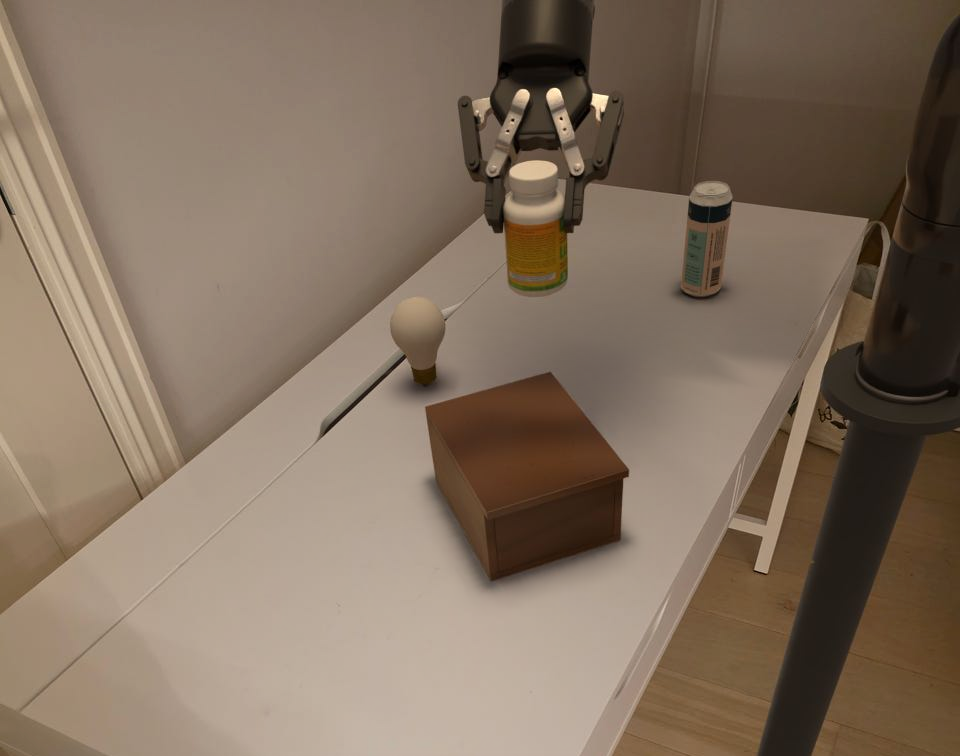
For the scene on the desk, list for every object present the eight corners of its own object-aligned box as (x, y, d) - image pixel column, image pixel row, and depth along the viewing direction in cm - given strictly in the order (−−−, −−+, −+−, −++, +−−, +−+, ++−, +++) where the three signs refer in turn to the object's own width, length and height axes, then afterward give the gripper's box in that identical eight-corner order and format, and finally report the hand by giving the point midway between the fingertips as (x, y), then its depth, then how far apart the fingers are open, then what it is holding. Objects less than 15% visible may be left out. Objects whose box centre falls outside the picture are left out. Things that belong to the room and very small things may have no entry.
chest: (620, 540, 79) (624, 471, 73) (490, 581, 77) (483, 513, 71) (552, 446, 89) (550, 379, 83) (435, 480, 87) (425, 414, 81)
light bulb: (404, 370, 101) (391, 287, 94) (455, 369, 100) (445, 285, 93) (396, 399, 97) (381, 315, 90) (448, 399, 96) (438, 313, 89)
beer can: (721, 281, 109) (734, 179, 100) (719, 300, 106) (732, 197, 97) (682, 279, 110) (691, 179, 101) (678, 298, 107) (688, 196, 98)
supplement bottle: (571, 295, 77) (570, 178, 69) (510, 302, 77) (503, 186, 70) (564, 266, 80) (562, 152, 73) (505, 273, 80) (498, 160, 73)
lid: (629, 477, 73) (629, 469, 72) (487, 520, 71) (487, 512, 70) (550, 378, 83) (550, 371, 83) (425, 413, 81) (424, 406, 81)
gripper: (451, -9, 69) (438, 212, 71) (635, -19, 67) (618, 210, 68) (470, 48, 77) (458, 247, 78) (636, 40, 74) (620, 246, 76)
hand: (532, 229), depth 73 cm, fingers closed on supplement bottle, 5 cm apart
